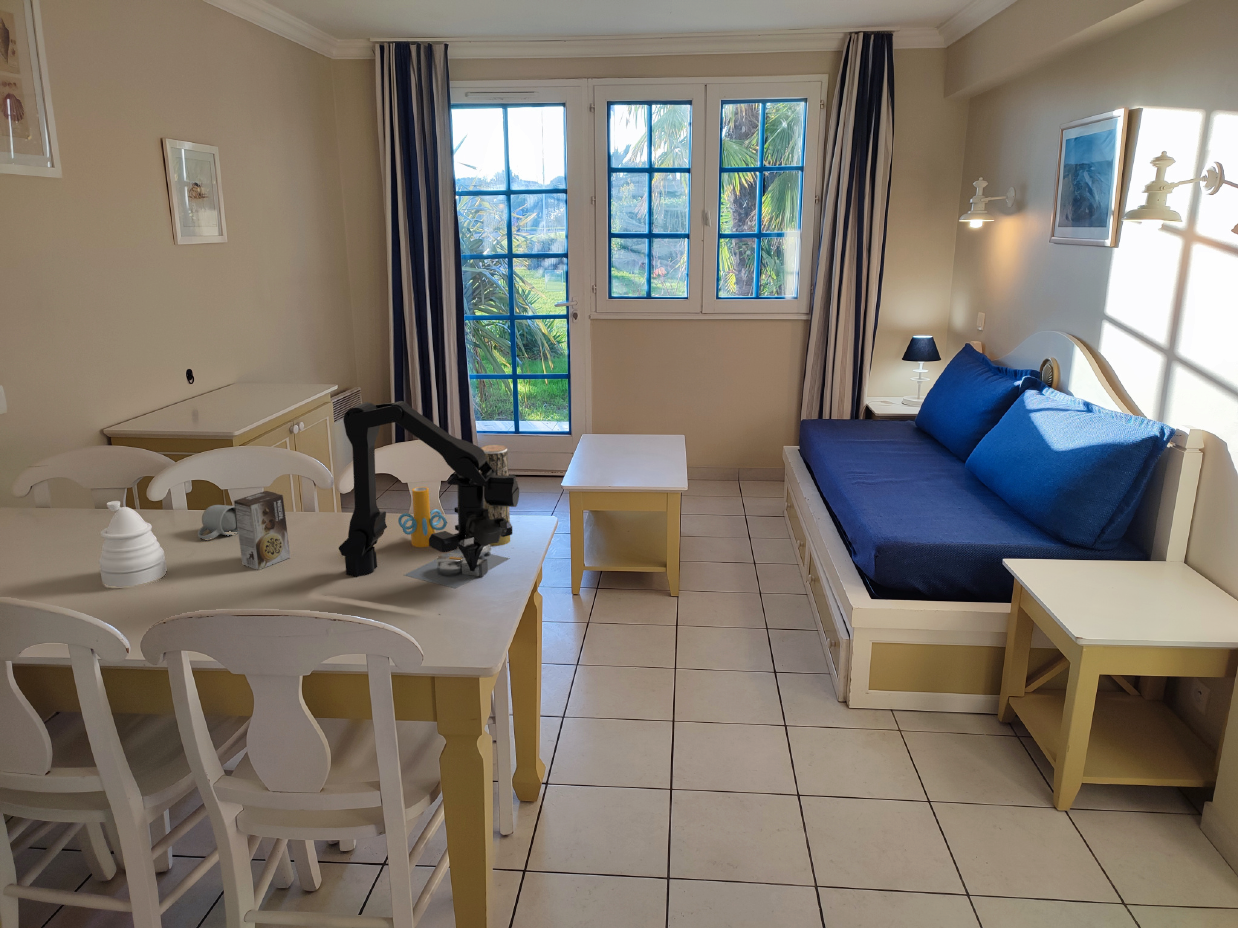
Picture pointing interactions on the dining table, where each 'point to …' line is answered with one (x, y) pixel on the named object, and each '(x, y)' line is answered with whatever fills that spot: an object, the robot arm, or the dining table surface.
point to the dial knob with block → (459, 565)
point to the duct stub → (485, 552)
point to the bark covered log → (499, 463)
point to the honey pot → (130, 550)
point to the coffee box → (262, 529)
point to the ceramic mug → (218, 521)
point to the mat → (431, 575)
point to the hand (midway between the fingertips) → (472, 570)
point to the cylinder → (421, 518)
